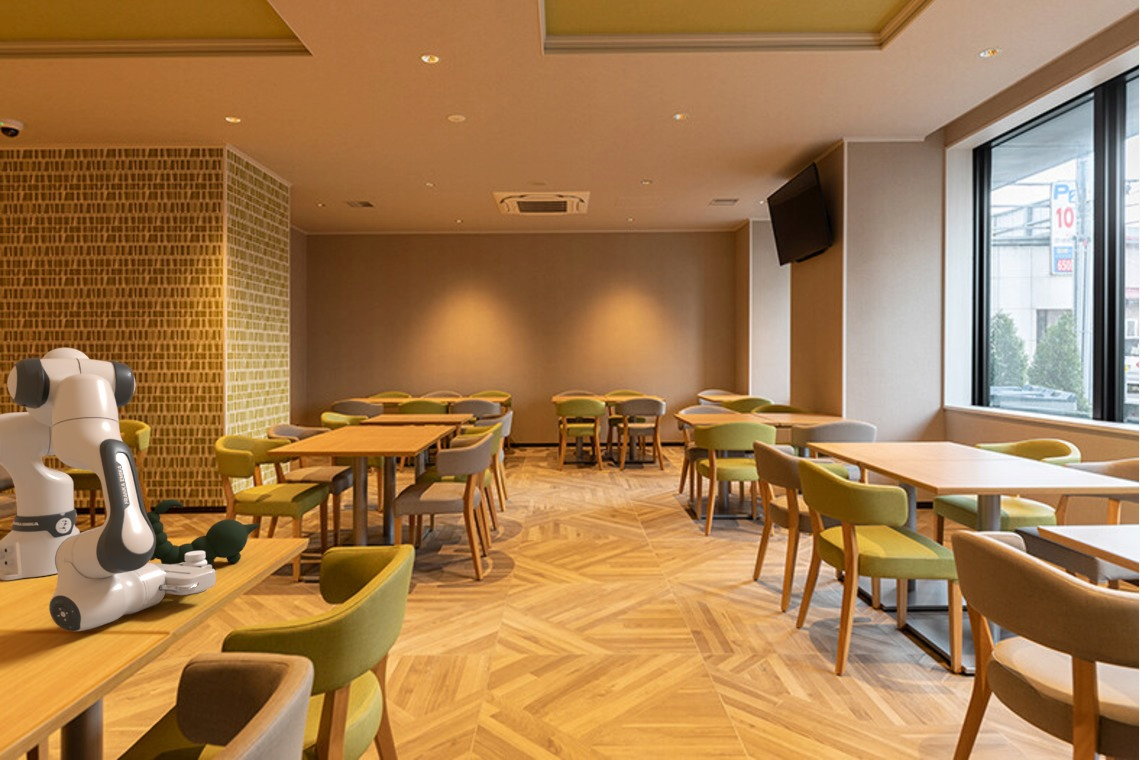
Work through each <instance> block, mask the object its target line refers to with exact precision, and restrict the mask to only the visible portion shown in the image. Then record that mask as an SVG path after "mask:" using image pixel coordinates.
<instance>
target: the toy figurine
mask: <svg viewBox="0 0 1140 760" xmlns="http://www.w3.org/2000/svg"><path fill="white" fill-rule="evenodd" d="M173 507H176V508H179V509H183V508H184V505H183V503H182V502H180V501H179V500H176V499H165V500H162V501H161V502H159V503H157V504H156V506H155V507H154V510H153V511H147V512H146V514H147V516H148V519H149V521H150V523H151V525H152V527H153V530H154V532H155V536H156V547H155V551H154V554H153V556H152V557H151V559H150V560H149V562H150V561H155V559H156V560H160V564H169V565H172V564H179V563H182V562H186V561H185V554H186V553H188V552H192V551H205V555H206V557H205V560H206V561H207V564H208V565H212V567H213V566H214V564H215V560H216V558H221V559H226V561H227V562H228V563H230V564H236V563H239V561H240V560H241V557H242V556H241V552H242V551H243V550H244V548H245V547H246V545H247V542H248V537H249V535H250V534H251V533H253V531H255V530H256V529H257V528H258V527H260V523H249V524H247V523H246V524H243V523H242V522H240V521H238V520H236V519H231V518H230V519H229V518H228V519H227V518H226V519H222V520H219V521H217V522H215V523H214V524H213V525H211V526H210V528H208V530H207V532H206V534H205V535H202V536H199V537H197V538H195V539H194V540H192V541H191V542H190V543H189V542H187V543H183V544H180V545H176V544H174V545H173V543H172V542H171V541H170V540H168V539H169V538H168V535H167V533H166V532H165V531H164V524H163V522H161V515H162V514H164V513H166V512H167V511H168V510H169V509H171V508H173Z"/></svg>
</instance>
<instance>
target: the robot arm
mask: <svg viewBox="0 0 1140 760" xmlns="http://www.w3.org/2000/svg"><path fill="white" fill-rule="evenodd" d="M136 384H137V383H136V379H135V374H134V372H133V369H132V368H131V367H130V366H129V365H128V364H126V363H123V362H119V361H115V360H110V361H107V360H106V361H105V360H99V359H91V358H89V357H88V355H86V354H85V353H84V352H83V351H81V350H79V349H76V348H73V347H72V348H71V347H57V348H55V349H52V350H50V351H48V352H47V353H46V354H44V356H43V357H42V358H40V357H31V358H30V357H29V358H23V359H19V361H17V362H16V363H15V364H14V365H13V367H12V369H11V370H10V371H9V374H8V378H7V382H6V385H7V389H8V390H7V391H8V393H9V395H10V396H11V397H10V398H11V400H12V401H13V402H14V403H15V404H17V405H18V406H20V407H24V408H25V410H26V411H24V412H23V411H19V412H18V411H17V412H16V411H15V412H6V413H2V414H0V466H1V467H3V468H4V469H5V471H6V472H7V473H8V474H9V476H10V477H11V479H12V482H13V485H14V490H15V491H14V492H15V499H16V514H15V516H9V519H12V520H9V523H12V525H11V530H10V532H8V533H7V534H6V535H5V536H4V537H2V538H1V539H0V580H2V581H13V580H19V579H25V578H26V579H27V578H36V577H43V576H50V575H54V574H57V582H56V588H55V591H54V593H53V595H52V597H51V599H50V600H49V604H48V605H49V606H48V607H49V608H48V609H49V610H48V611H49V615H50V616H51V618H52V620H53V622H54V623H55V624H56V626H58V627H59V628H61V629H63V630H66V631H69V632H82V631H87V630H91V629H95V628H99V627H102V626H104V625H106V624H107V625H108V624H109V623H111V622H115V621H117V620H119V618H121V617H123V616H125V615H132V614H136V613H138V612H141V611H143V610H145V609H148V608H151V607H154V606H156V605H158V604H159V603H161V602H162V600H163V598H164V597H165V595H166V594H168V595H169V594H170V595H177V596H187V595H192V593H194V594H197V593H196V592H199V591H202V590H205V589H206V590H208V589H210V588H213V587H215V585H216V582H217V581H216V580H217V577H216V569H214V568H213V566H212V565H208V564H205V565H202V566H200V567H190V566H183V564H184V563H185V562H182V563H179V564H172V565H169V564H161V563H157V562H150V559H151V557H152V556H153V554H154V551H155V547H156V536H155V532H154V530H153V527H152V525H151V523H150V521H149V519H148V516H147V514H146V513H147V510H146V507H145V501H144V497H143V493H142V487H141V485H140V484H141V483H140V479H139V474H138V470H137V465H136V461H135V458H134V455H133V452H132V450H131V448H130V447H129V445H128V444H126V443H125V442H124V441H123V439H122V436H121V431H120V421H119V420H120V418H119V410H118V408H122V407H125V406H127V405H128V404H129V403H130V402H131V401H132V400H133V399H132V398H133V396H134V394H135V390H136ZM47 456H48V457H49V456H56V458H57V459H58V460H59V461H61V462H62V463H63V464H64V465H66V466H68V467H70V468H73V469H76V470H82V471H91V472H93V473H94V474H96V475H97V477H98V479H99V480H100V483H101V489H102V494H103V501H104V505H105V509H106V518H105V521H104V523H103V524H102V525H100V526H97V527H94V528H92V529H89V530H85V531H82V532H80V529H79V528H78V527H77V526H76V524H77V518H78V517H77V515H78V513H77V509H76V508H75V504H74V503H75V500H74V499H75V498H74V497H75V496H74V495H75V494H74V493H75V491H74V489H75V488H74V480H73V478H72V477H71V476H70V475H69V474H68V473H65V472H64V471H61V470H58V469H56V468H53V467H48V466H46V465H45V464H44V461H43V458H44V457H47ZM206 590H205V591H206Z"/></svg>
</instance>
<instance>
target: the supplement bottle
mask: <svg viewBox="0 0 1140 760" xmlns="http://www.w3.org/2000/svg"><path fill="white" fill-rule="evenodd" d="M205 557H206V555H205V551H192V552H188V553H186V554H185V561H186V562H185V563H184V564H183V566H190V567H200V566H202V565H205V564H207V561H206V560H205ZM205 591H207V589H205V590H202V591H199V592H196V593H192V594H193V595H194V594H199V593H203V592H205ZM192 594H191V595H192Z"/></svg>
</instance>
